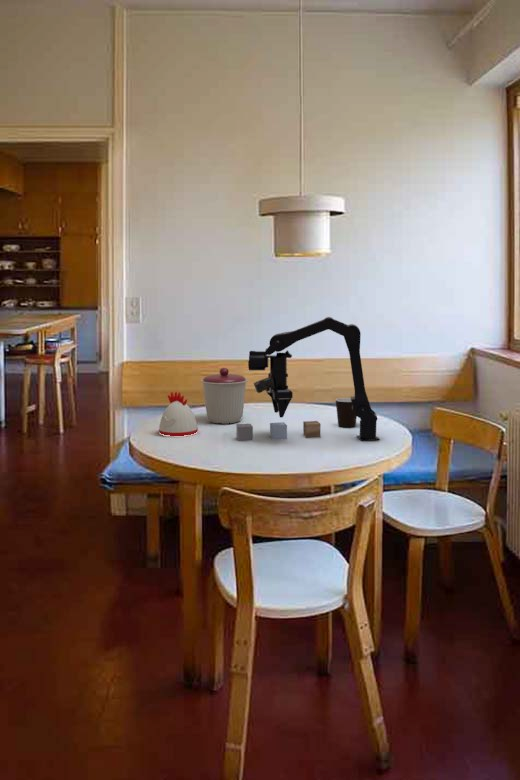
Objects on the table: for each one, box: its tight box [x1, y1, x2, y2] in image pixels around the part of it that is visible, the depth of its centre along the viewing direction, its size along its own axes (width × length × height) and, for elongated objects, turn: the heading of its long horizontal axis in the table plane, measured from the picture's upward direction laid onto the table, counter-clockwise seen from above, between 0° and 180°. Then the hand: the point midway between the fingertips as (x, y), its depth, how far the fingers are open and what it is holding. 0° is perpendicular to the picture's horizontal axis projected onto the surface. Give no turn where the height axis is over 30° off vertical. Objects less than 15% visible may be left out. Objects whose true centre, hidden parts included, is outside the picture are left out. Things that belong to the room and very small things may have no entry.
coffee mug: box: [335, 397, 358, 429], centre depth 277 cm, size 12×9×10 cm
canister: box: [200, 367, 249, 425], centre depth 286 cm, size 18×18×21 cm
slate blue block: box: [269, 421, 288, 441], centre depth 258 cm, size 5×5×5 cm
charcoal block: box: [235, 423, 254, 442], centre depth 256 cm, size 5×5×5 cm
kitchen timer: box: [158, 391, 199, 436], centre depth 266 cm, size 14×14×15 cm
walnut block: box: [302, 420, 321, 439], centre depth 260 cm, size 5×5×5 cm
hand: (278, 414), depth 257 cm, fingers open, 9 cm apart
